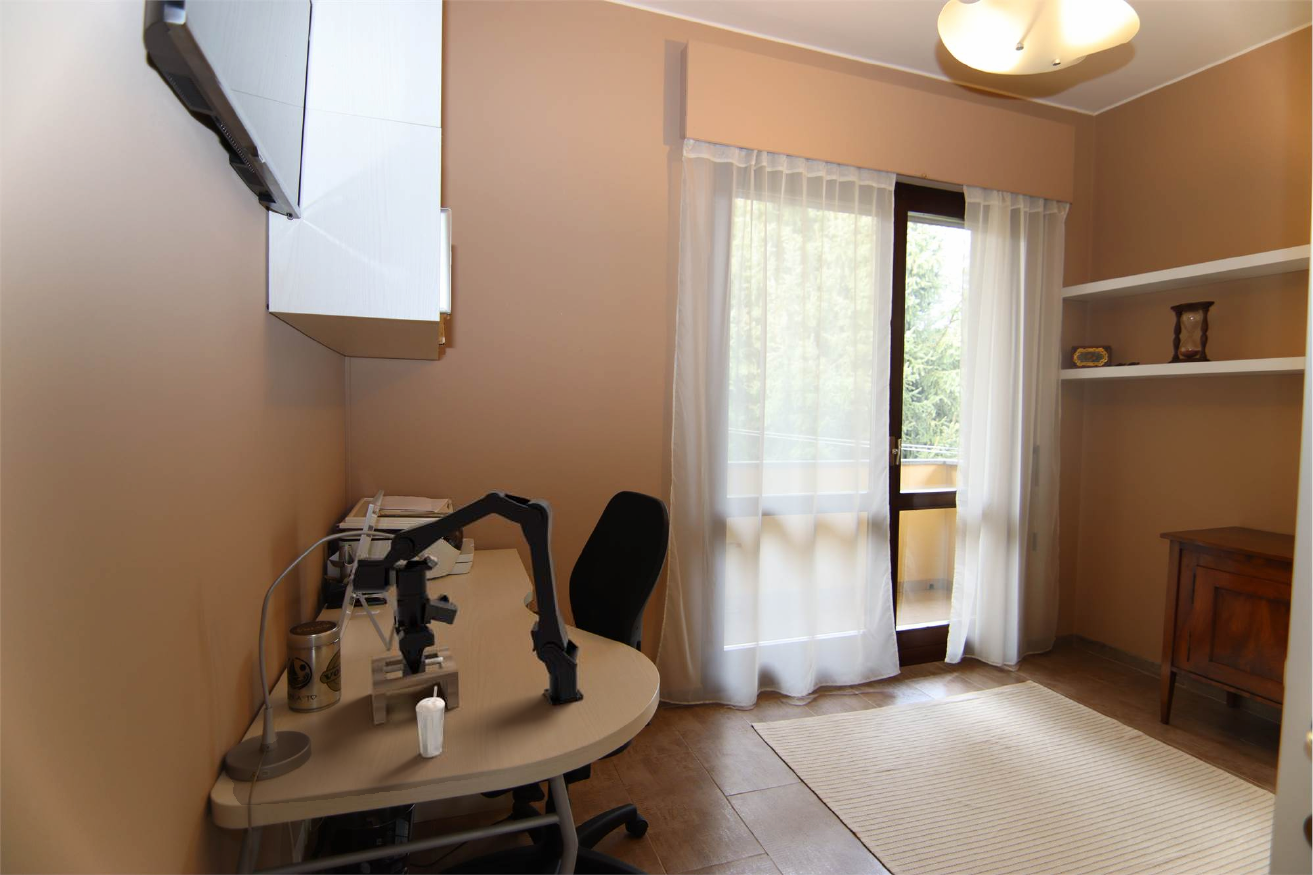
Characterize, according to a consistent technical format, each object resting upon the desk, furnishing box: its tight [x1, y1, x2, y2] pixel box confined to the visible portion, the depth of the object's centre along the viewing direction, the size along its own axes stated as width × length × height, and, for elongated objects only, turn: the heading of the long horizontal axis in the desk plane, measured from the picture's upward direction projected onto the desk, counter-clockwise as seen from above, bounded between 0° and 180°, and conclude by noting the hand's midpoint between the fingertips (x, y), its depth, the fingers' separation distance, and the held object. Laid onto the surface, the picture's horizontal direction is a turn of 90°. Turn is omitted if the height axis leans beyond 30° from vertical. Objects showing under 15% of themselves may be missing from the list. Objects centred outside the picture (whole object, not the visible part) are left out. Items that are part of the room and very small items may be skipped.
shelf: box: [370, 645, 460, 726], centre depth 122 cm, size 14×15×8 cm
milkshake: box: [415, 685, 446, 758], centre depth 104 cm, size 5×5×10 cm
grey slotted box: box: [401, 654, 427, 677], centre depth 122 cm, size 4×4×5 cm
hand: (413, 668), depth 122 cm, fingers open, 6 cm apart
